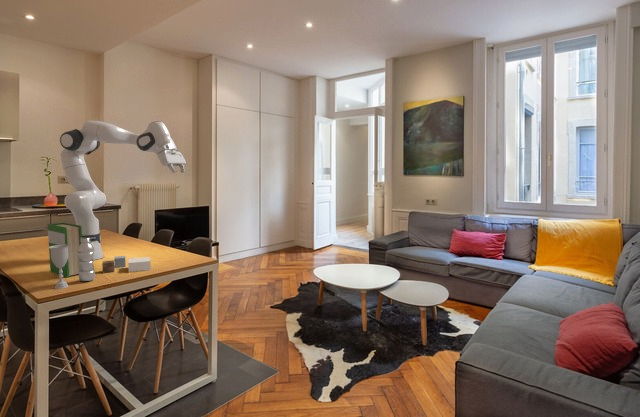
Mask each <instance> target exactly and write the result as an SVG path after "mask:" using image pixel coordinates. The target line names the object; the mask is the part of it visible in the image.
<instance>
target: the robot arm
mask: <svg viewBox="0 0 640 417" xmlns="http://www.w3.org/2000/svg"><path fill="white" fill-rule="evenodd" d="M59 143H60V146H62V148H63V150H61V152H60V160H61V165H62V168H63V172H64V174H65V177H66V180H67V183H68V184H69V185H70V186H72V187H73V188H75V190H76V191H73V192H70V193H68V194H66V196H65V197H64V205H65V207H66V209H68V210H69V211H70V212H71V214H72V216H73V217H74V221H75V225H80V226H81V227H82V238H83V237H90V243H91V244H92V245H93V247H94V256H93V261H95V260H100V259H102V258H104V257H105V256H104V253H103V250H102V245H101V241H102V240H101V238H102V237H101V232H100V221H99V218H98V217H96V216H95V215H94V211H93V210H96V209H99V208H101V207H103V206H104V205H105V204H106V203H107V196H106V194H105V193H104V192H103V191H102V190H100V189H99V188H98V186H97V185H96V184H95V182H94V181H93V179H92V178H91V174H90V171H89V169H88V167H87V166H88V165H87V164H86V161H85V155H87V156H88V155H90V154H92V153H94V152H96V151H97V150H98V149H99V148H100V146H101V143H104V144H117V145H118V144H124V145H126V144H127V145H134V146H135V145H136V146H137V148H138V149H139V150H140V151H143V152H150V153H155V155H157V158H158V160H159V162H160V164H161V165H162V166H163V167H164V166H165V167H166V166H167V168H168V169H169V170H170V171H171V173H172V174H175V173H177V170H176V168H174V167H178V168H180V170H179V171H180V173H182V174H183V173H185V172H186V170H185V165H186V164H187V162H186V159H185V157H184V155H183V154H182V152H180V151H179V150H178V148H177V146H176V144H175V141H174V140H173V138H172V137H171V133H170V131H169V129H168V128H167V126H166V125H165V123H164V122H162V121H152V122H150V123H148V125H147V127H146V129H145V130H144V131H143V132H142V133H141V134H139V133H135V132H133V131H130V130H127V129H124V128H122V127H119V126H118V125H115V124H114V123H109V122H105V121H101V120H86V121H85V122H84V123H83V125H82V128H81V129H80V130H79V129H77V128H75V129H72V130H69V131H65V132H63V133H62V134H61V135H60V137H59Z"/></svg>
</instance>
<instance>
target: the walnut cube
mask: <svg viewBox="0 0 640 417" xmlns="http://www.w3.org/2000/svg"><path fill="white" fill-rule="evenodd" d="M101 263H102V264H101V266H102V268H101V269H102V274H109V273H115V269H116V268H115V262H114V259H113V260H104V261H102V262H101Z"/></svg>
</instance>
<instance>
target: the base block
mask: <svg viewBox="0 0 640 417" xmlns="http://www.w3.org/2000/svg"><path fill="white" fill-rule="evenodd" d="M127 265H128V273H135V272H136V271H137V272H146V271H152V268H151V266H152V265H151V257H150V256H146V257H145V256H144V257H133V258H128V263H127Z"/></svg>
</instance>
